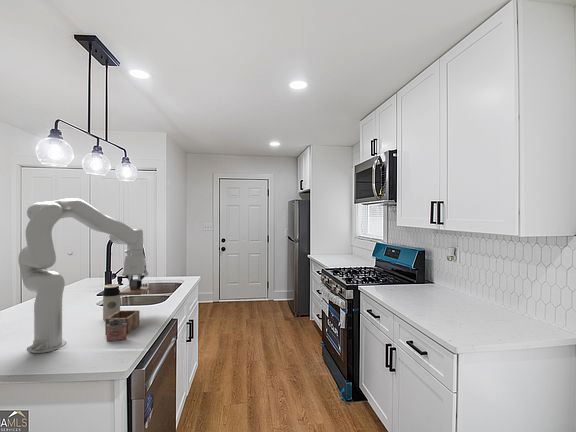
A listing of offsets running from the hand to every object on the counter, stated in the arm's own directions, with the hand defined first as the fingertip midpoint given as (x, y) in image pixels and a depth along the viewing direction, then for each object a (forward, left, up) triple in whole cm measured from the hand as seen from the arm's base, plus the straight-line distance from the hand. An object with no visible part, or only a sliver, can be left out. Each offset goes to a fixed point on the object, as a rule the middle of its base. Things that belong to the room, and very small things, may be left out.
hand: (135, 287), depth 177 cm
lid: (0, 0, -2) cm, 2 cm away
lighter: (-29, -4, -17) cm, 34 cm away
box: (-16, -1, -17) cm, 24 cm away
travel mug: (+2, +13, -17) cm, 22 cm away
